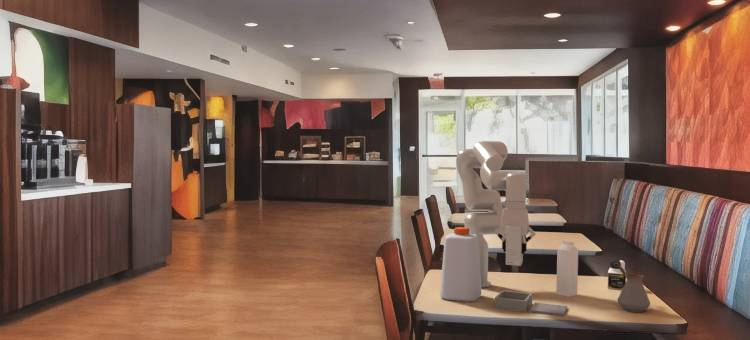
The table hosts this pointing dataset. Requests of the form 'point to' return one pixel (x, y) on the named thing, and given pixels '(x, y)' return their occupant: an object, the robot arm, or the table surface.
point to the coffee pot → (633, 293)
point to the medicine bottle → (616, 275)
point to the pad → (548, 309)
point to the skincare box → (514, 245)
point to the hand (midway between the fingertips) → (514, 251)
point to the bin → (513, 301)
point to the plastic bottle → (461, 267)
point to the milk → (567, 269)
